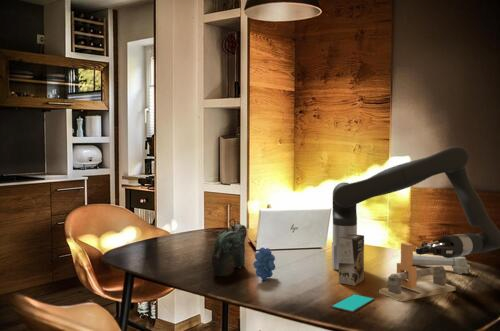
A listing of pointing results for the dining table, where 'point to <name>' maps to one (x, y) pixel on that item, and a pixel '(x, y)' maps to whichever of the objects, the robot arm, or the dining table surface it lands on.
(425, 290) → the pipe stand
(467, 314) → the dining table surface
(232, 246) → the dark green backpack
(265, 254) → the grapes
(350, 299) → the smartphone
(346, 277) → the coffee box
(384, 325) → the dining table surface
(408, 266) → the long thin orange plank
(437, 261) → the toothbrush head
